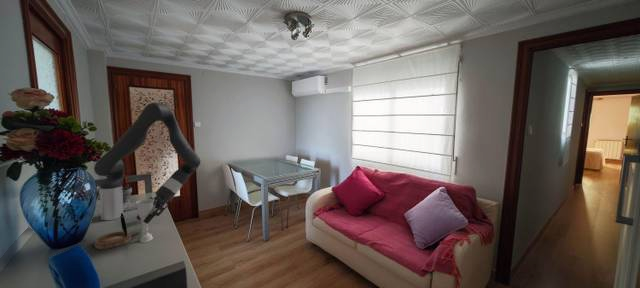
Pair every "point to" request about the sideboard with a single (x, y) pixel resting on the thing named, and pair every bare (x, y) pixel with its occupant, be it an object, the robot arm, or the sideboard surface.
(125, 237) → the tan segmented-rim dish
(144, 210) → the chalice
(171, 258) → the sideboard surface
